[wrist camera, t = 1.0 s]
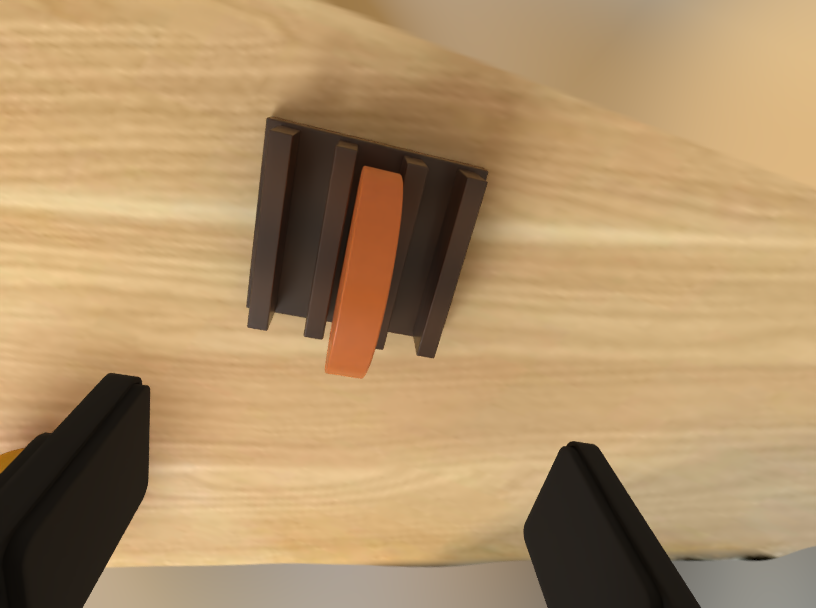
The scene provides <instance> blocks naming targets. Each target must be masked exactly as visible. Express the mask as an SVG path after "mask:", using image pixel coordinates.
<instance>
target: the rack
mask: <svg viewBox="0 0 816 608" xmlns="http://www.w3.org/2000/svg"><path fill="white" fill-rule="evenodd" d="M364 166H368V167H373V168H377V169H381V170H385V171H390V172H394V173H398V174H400V175H401V176H402V180H403V204H402V215H401V223H400V231H399V238H398V245H397V251H396V258H395V263H394V269H393V275H392V280H391V285H390V290H389V295H388V300H387V304H386V309H385V313H384V317H383V322H382V326H381V330H380V334H379V338H378V341H377V345H376V348H375V349H381V350H383V349H384V345H385V341H386V337H387V333H388V332H391V333H397V334H403V335H409V336H413V338H414V343H415V348H416V354H417V356H423V357H429V358H434V357H435V354H436V350H437V347H438V344H439V341H440V337H441V334H442V331H443V327H444V324H445V321H446V318H447V314H448V311H449V308H450V305H451V301H452V298H453V295H454V291H455V288H456V285H457V282H458V278H459V275H460V272H461V268H462V265H463V262H464V259H465V255H466V252H467V249H468V245H469V242H470V239H471V236H472V232H473V229H474V226H475V223H476V219H477V216H478V213H479V209H480V206H481V203H482V200H483V196H484V193H485V190H486V186H487V181H486V178H487V175H488V171H487V170H486V169H484V168H481V167H477V166H473V165H469V164H465V163H460V162H456V161H452V160H448V159H444V158H440V157H436V156H432V155H428V154H423V153H419V152H415V151H411V150H407V149H403V148H399V147H395V146H391V145H387V144H382V143H378V142H374V141H370V140H366V139H362V138H358V137H354V136H350V135H345V134H341V133H337V132H333V131H329V130H325V129H321V128H317V127H313V126H309V125H304V124H300V123H296V122H292V121H288V120H284V119H280V118H276V117H268V118H267V120H266V129H265V138H264V148H263V157H262V166H261V175H260V185H259V194H258V203H257V212H256V222H255V231H254V240H253V250H252V259H251V268H250V277H249V287H248V296H247V305H246V307H247V308H249V316H248V325H247V327H248V328H253V329H259V330H265V331H267V330H268V328H269V325H270V323H271V320H272V318H273V315H274V313H275V312H276V313H281V314H287V315H293V316H299V317H305V318H306V324H305V330H304V337H309V338H315V339H323V336H324V331H325V326H326V321H328V322H332V320H333V314H334V309H335V303H336V297H337V292H338V286H339V281H340V275H341V270H342V265H343V259H344V254H345V249H346V244H347V238H348V233H349V228H350V223H351V218H352V213H353V208H354V203H355V198H356V194H357V189H358V184H359V180H360V176H361V172H362V168H363V167H364Z"/></svg>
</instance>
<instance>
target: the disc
mask: <svg viewBox="0 0 816 608" xmlns="http://www.w3.org/2000/svg"><path fill="white" fill-rule="evenodd" d="M402 204H403V180H402V176H401V175H400V174H398V173H394V172H390V171H385V170H381V169H377V168H373V167H368V166H364V167H363V168H362V172H361V176H360V180H359V184H358V189H357V194H356V198H355V203H354V208H353V213H352V218H351V223H350V228H349V233H348V238H347V244H346V249H345V254H344V259H343V265H342V270H341V275H340V281H339V286H338V292H337V297H336V303H335V309H334V314H333V320H332V326H331V332H330V338H329V344H328V350H327V357H326V364H325V373H328V374H335V375H341V376H348V377H354V378H363V377H364V376H365V374H366V373H367V371H368V368H369V366H370V363H371V361H372V358H373V355H374V351H375V348H376V345H377V341H378V338H379V334H380V330H381V326H382V322H383V317H384V313H385V309H386V304H387V300H388V295H389V290H390V285H391V280H392V275H393V269H394V263H395V258H396V251H397V245H398V238H399V231H400V223H401V215H402Z"/></svg>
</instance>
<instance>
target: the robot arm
mask: <svg viewBox="0 0 816 608" xmlns="http://www.w3.org/2000/svg"><path fill="white" fill-rule="evenodd" d="M149 425H150V387H149V386H147V385H142V380H141V378H139V377H135V376H128V375H122V374H115V373H109V374H107V375H106V376H105V377H104V378H103V379H102V380H101V381H100V382H99V383H98V384H97V385H96V386H95V387H94V389H93V390H92V391H91V392H90V393H89V394H88V395H87V396H86V397H85V398H84V399H83V400H82V402H81V403H80V404H79V405H78V406H77V407H76V408H75V409H74V410H73V411H72V412H71V413H70V414H69V416H68V417H67V418H66V419H65V420H64V421H63V422H62V423H61V424H60V425H59V426H58V427H57V428H56V430H55V431H54V432H53V433H43V434H40V435H38V436H37V437H36V438H35V439H34V440H32V441H31V442H30V443H29V444H28V446H27V447H26V448H25V449H24V450H23V451H22V452H21V453H20V454H19V455H18V456H17V457H16V458H15V459H14V460H13V461H12V462H11V463H10V464H9V465H8V466H7V467H6V468H5V469H4V470H3V471H2V472H1V474H0V608H83V606H84V604H85V602H86V601H87V599H88V597H89V595H90V593H91V592H92V590H93V588H94V586H95V584H96V583H97V581H98V579H99V577H100V575H101V574H102V572H103V570H104V568H105V566H106V565H107V563H108V561H109V559H110V557H111V556H112V554H113V552H114V550H115V548H116V547H117V545H118V543H119V541H120V539H121V538H122V536H123V534H124V532H125V530H126V529H127V527H128V525H129V523H130V521H131V520H132V518H133V516H134V514H135V512H136V511H137V509H138V507H139V505H140V503H141V502H142V500H143V498H144V495H145V493H146V490H147V486H148V473H149ZM524 540H525V543H526V546H527V549H528V552H529V555H530V558H531V560H532V563H533V565H534V569H535V572H536V575H537V578H538V581H539V584H540V586H541V590H542V592H543V595H544V598H545V601H546V604H547V607H548V608H701V607H700V605H699V604H698V602H697V601H696V599H695V597H694V596H693V594H692V593H691V591H690V590H689V588H688V587H687V585H686V583H685V582H684V580H683V579H682V577H681V576H680V574H679V573H678V571H677V569H676V568H675V566H674V565H673V563H672V562H671V560H670V558H669V557H668V555H667V554H666V552H665V551H664V549H663V548H662V546H661V544H660V543H659V541H658V540H657V538H656V537H655V535H654V533H653V532H652V530H651V529H650V527H649V526H648V524H647V523H646V521H645V519H644V518H643V516H642V515H641V513H640V512H639V510H638V508H637V507H636V505H635V504H634V502H633V501H632V499H631V498H630V496H629V494H628V493H627V491H626V490H625V488H624V487H623V485H622V483H621V482H620V480H619V479H618V477H617V476H616V474H615V473H614V471H613V469H612V468H611V466H610V465H609V463H608V462H607V460H606V458H605V457H604V455H603V454H602V452H601V451H600V449H599V448H598V447H597V446H596V445H594V444H588V443H581V442H575V441H572V442H569V443H568V444H567V446H563V447H562V448H561V449H560V450H559V452H558V455H557V457H556V459H555V461H554V463H553V465H552V467H551V469H550V471H549V474H548V476H547V478H546V480H545V482H544V484H543V486H542V488H541V491H540V493H539V495H538V497H537V499H536V501H535V503H534V505H533V507H532V510H531V512H530V514H529V516H528V518H527V520H526V522H525V525H524Z"/></svg>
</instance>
